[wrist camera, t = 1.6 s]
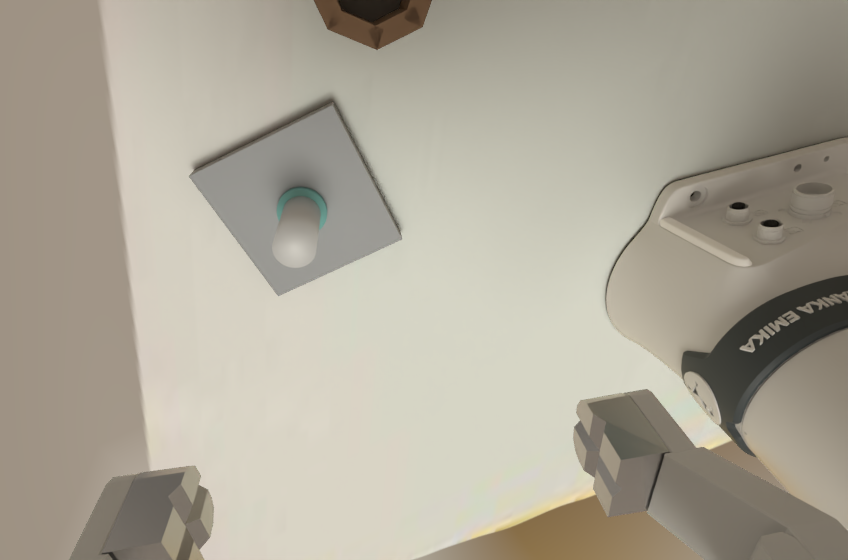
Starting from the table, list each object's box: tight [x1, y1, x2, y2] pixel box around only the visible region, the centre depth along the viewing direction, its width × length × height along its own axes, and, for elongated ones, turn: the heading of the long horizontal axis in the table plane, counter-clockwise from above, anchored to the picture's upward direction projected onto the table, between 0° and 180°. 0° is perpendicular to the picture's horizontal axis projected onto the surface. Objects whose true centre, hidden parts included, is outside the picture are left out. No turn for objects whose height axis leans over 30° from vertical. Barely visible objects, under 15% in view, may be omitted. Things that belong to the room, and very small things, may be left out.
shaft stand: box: [189, 102, 402, 296], centre depth 29 cm, size 10×10×7 cm
